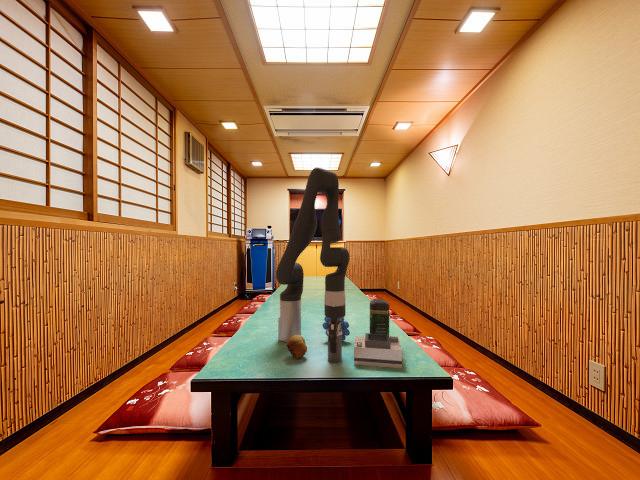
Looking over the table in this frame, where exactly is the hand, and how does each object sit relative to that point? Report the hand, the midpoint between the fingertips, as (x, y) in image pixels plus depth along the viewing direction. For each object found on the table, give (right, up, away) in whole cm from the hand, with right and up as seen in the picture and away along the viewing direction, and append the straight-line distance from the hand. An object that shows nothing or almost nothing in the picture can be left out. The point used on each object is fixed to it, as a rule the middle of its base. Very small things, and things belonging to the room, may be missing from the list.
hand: (335, 348), depth 103 cm
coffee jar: (+19, -5, +16) cm, 25 cm away
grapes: (+1, -5, +19) cm, 20 cm away
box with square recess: (+15, -4, 0) cm, 16 cm away
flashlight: (0, -4, 0) cm, 4 cm away
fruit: (-14, -5, +3) cm, 15 cm away
